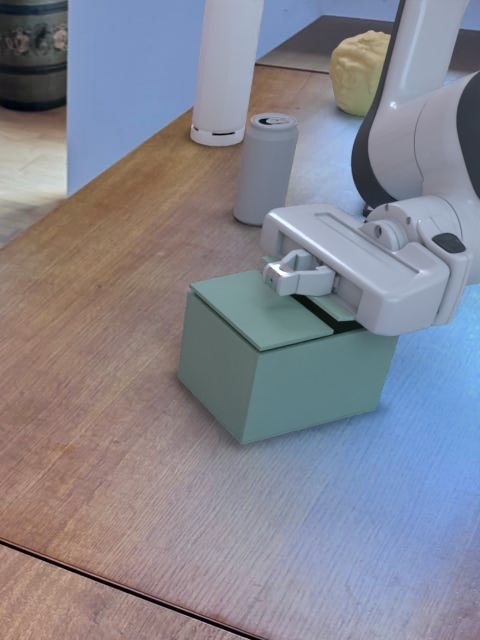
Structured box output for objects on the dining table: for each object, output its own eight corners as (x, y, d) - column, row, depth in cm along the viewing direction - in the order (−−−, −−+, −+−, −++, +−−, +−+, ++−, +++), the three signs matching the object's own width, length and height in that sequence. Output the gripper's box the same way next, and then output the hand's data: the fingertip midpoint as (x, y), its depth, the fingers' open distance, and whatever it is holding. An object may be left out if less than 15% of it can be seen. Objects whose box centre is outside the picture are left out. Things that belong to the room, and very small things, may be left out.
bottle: (208, 125, 144) (236, -101, 123) (253, 135, 140) (290, -96, 119) (179, 140, 140) (203, -91, 119) (225, 151, 136) (258, -85, 115)
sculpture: (310, 107, 147) (325, 29, 140) (367, 93, 151) (385, 17, 143) (359, 128, 140) (378, 47, 133) (418, 113, 144) (439, 33, 136)
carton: (301, 348, 97) (323, 254, 90) (375, 411, 89) (406, 313, 81) (176, 378, 94) (188, 283, 87) (241, 447, 86) (260, 347, 78)
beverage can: (228, 209, 122) (243, 111, 113) (277, 208, 122) (295, 109, 113) (235, 230, 118) (251, 129, 109) (285, 229, 117) (305, 128, 108)
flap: (322, 258, 90) (323, 254, 90) (404, 317, 82) (406, 312, 81) (260, 260, 88) (261, 256, 87) (338, 321, 79) (339, 317, 79)
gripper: (343, 177, 89) (218, 202, 86) (487, 263, 76) (345, 296, 73) (328, 241, 94) (209, 267, 91) (461, 333, 81) (327, 366, 78)
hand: (271, 280), depth 82 cm, fingers closed, pressing on flap
